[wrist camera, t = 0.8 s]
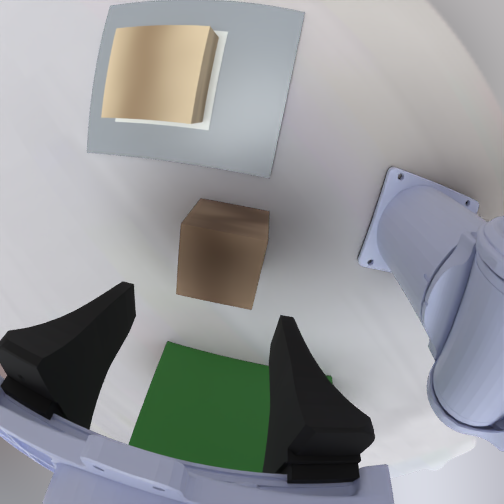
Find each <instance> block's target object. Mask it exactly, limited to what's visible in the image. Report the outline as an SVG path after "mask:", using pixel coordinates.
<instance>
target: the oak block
mask: <svg viewBox="0 0 504 504" xmlns="http://www.w3.org/2000/svg"><path fill="white" fill-rule="evenodd" d="M218 39H219V37H218V36H217V34H216V33H215V32H214V31H213V29H212V28H211V27H210V26H199V25H154V26H136V27H125V28H116V32H115V36H114V40H113V45H112V50H111V55H110V60H109V65H108V71H107V77H106V83H105V90H104V97H103V105H102V114H101V118H126V119H143V120H156V121H167V122H177V123H186V124H194V123H200V122H202V121H203V115H204V110H205V104H206V98H207V93H208V87H209V82H210V77H211V72H212V67H213V62H214V58H215V53H216V48H217V44H218Z"/></svg>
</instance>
